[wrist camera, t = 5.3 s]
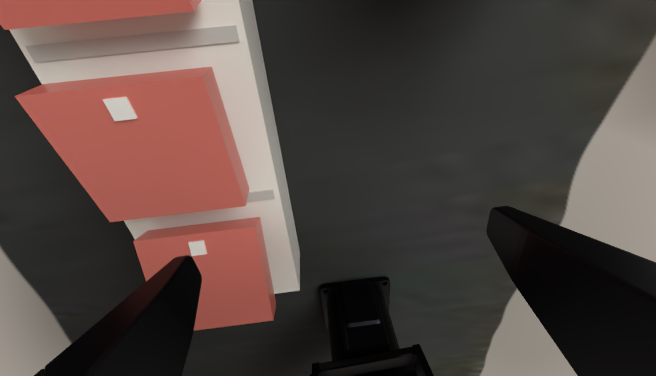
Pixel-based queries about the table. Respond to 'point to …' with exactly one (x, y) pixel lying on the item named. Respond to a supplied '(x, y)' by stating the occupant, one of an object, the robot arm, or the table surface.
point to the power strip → (234, 86)
